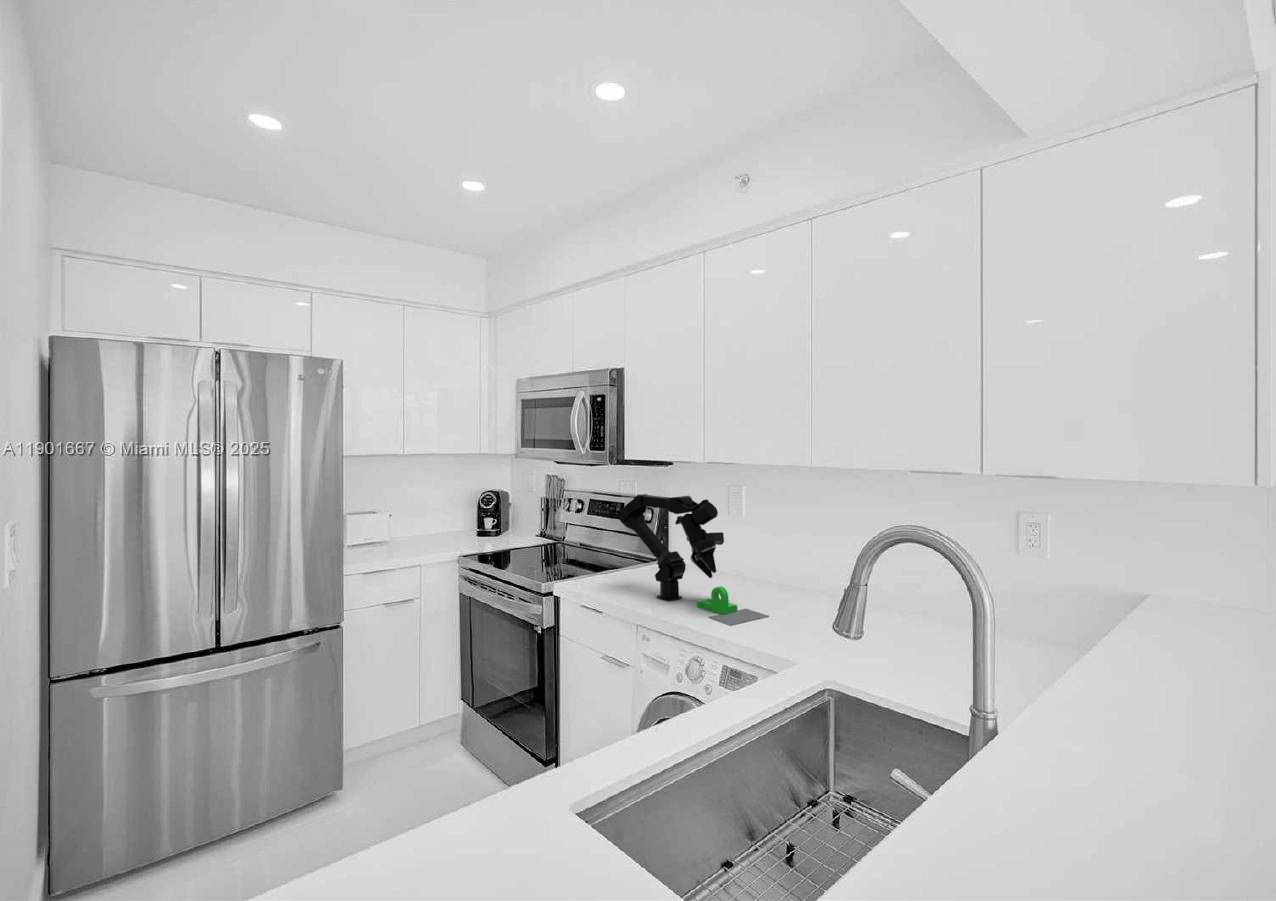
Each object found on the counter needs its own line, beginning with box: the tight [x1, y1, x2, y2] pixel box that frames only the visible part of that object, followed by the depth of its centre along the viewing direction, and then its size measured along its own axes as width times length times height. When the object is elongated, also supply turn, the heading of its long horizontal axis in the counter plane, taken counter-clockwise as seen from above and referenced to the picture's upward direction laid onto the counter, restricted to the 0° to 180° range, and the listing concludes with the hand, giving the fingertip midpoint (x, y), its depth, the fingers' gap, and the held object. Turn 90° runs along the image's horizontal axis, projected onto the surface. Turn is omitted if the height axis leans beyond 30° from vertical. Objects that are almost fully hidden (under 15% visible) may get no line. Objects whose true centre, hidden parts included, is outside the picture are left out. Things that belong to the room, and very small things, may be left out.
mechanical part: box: [696, 586, 738, 615], centre depth 199 cm, size 12×6×8 cm, turn 39°
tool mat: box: [708, 608, 769, 627], centre depth 190 cm, size 10×16×1 cm, turn 124°
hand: (713, 575), depth 200 cm, fingers open, 9 cm apart
